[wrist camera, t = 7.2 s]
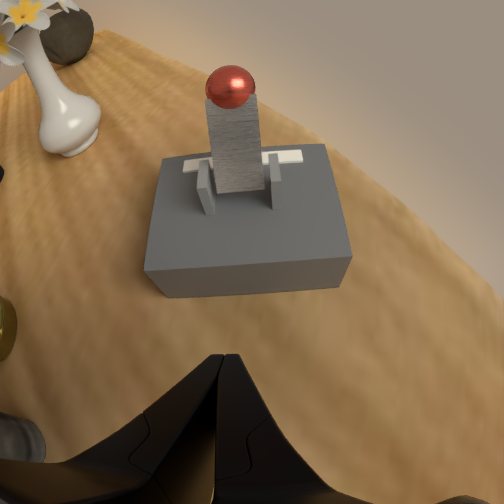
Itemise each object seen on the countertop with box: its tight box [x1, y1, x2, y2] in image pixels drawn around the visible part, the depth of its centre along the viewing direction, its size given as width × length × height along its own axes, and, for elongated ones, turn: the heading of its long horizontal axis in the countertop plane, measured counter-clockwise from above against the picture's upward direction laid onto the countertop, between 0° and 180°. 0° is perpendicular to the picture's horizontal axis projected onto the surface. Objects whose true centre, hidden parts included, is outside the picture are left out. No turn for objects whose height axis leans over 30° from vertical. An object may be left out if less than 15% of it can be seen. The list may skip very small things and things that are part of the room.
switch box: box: [143, 144, 352, 298], centre depth 22 cm, size 10×13×8 cm
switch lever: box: [205, 65, 265, 194], centre depth 18 cm, size 3×3×8 cm
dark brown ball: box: [40, 8, 94, 65], centre depth 48 cm, size 14×14×15 cm
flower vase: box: [0, 0, 101, 157], centre depth 24 cm, size 13×18×25 cm
